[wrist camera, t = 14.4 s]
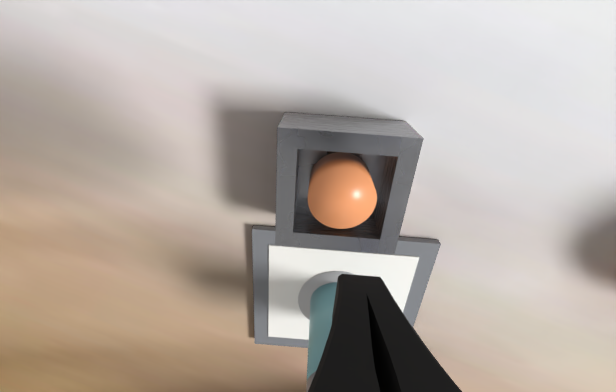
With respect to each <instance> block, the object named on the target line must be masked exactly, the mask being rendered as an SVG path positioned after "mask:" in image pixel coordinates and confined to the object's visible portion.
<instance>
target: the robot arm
mask: <svg viewBox="0 0 616 392" xmlns="http://www.w3.org/2000/svg"><path fill="white" fill-rule="evenodd" d="M308 392H462V391H461V390H460V389H459V388H458V386H457V385H456V384H455V383H454V382H453V380H452V379H451V378H450V377H449V375H448V374H447V373H446V372H445V370H444V369H443V368H442V367H441V365H440V364H439V363H438V361H437V360H436V359H435V357H434V356H433V355H432V354H431V352H430V351H429V350H428V348H427V347H426V345H425V344H424V343H423V341H422V340H421V339H420V337H419V336H418V334H417V333H416V331H415V330H414V328H413V327H412V326H411V324H410V323H409V321H408V320H407V318H406V317H405V315H404V314H403V312H402V311H401V309H400V307H399V306H398V304H397V303H396V301H395V300H394V298H393V296H392V295H391V293H390V291H389V290H388V288H387V286H386V285H385V283H384V281H383V280H382V279H381V277H377V276H364V275H351V274H341V275H339V276H338V280H337V287H336V294H335V300H334V307H333V314H332V325H331V329H330V332H329V336H328V339H327V342H326V345H325V348H324V351H323V354H322V357H321V360H320V362H319V365H318V368H317V370H316V373H315V375H314V378H313V380H312V383H311V385H310V388H309V390H308Z"/></svg>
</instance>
